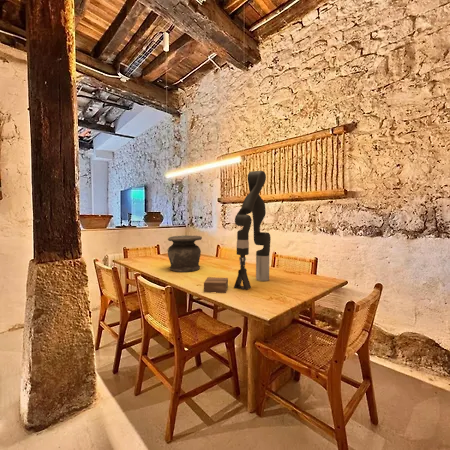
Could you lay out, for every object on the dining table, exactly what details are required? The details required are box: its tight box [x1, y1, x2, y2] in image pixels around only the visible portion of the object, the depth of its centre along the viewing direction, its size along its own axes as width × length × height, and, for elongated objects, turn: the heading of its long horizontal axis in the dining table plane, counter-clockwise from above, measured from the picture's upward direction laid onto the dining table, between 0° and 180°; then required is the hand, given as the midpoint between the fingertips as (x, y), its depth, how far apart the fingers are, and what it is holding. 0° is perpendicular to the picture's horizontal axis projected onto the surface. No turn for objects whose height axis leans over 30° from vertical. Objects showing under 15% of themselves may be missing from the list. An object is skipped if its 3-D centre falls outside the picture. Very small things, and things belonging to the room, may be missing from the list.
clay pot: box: [167, 235, 202, 273], centre depth 218 cm, size 29×30×30 cm
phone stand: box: [233, 267, 252, 291], centre depth 164 cm, size 9×6×12 cm, turn 60°
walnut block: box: [203, 276, 229, 294], centre depth 161 cm, size 13×13×6 cm
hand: (242, 272), depth 163 cm, fingers open, 8 cm apart
